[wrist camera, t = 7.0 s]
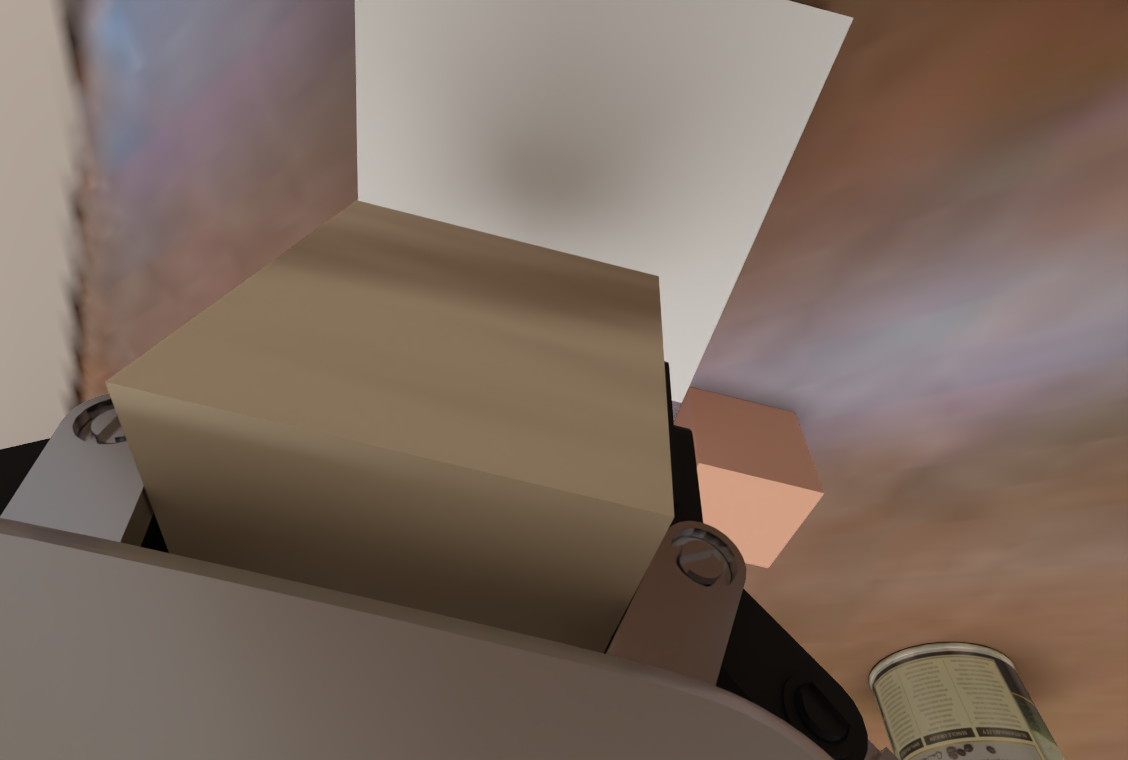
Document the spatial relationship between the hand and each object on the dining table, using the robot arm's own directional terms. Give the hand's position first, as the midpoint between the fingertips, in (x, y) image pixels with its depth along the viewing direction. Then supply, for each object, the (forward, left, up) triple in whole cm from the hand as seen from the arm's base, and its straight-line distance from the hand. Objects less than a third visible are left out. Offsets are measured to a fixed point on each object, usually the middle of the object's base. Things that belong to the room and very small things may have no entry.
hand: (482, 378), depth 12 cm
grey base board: (0, 0, -15) cm, 15 cm away
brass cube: (0, 0, -1) cm, 1 cm away
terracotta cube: (+12, +12, -15) cm, 23 cm away
